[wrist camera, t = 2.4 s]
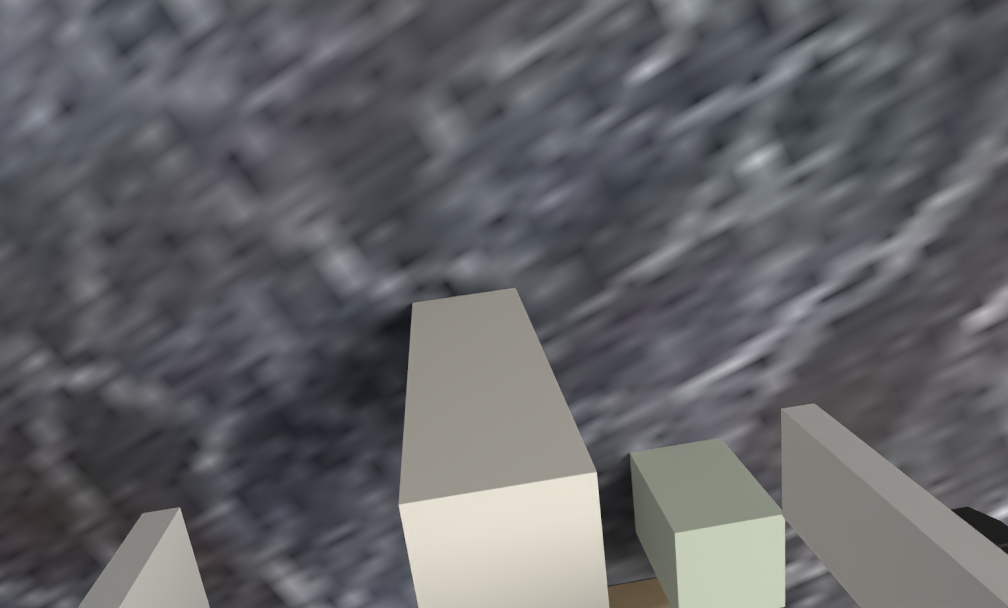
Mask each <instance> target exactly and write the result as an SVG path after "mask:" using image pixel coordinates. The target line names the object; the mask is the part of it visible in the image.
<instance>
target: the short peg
mask: <svg viewBox="0 0 1008 608" xmlns="http://www.w3.org/2000/svg"><path fill="white" fill-rule="evenodd" d="M630 463H631V476H632V489H633V503H634V516H635V529H636V534H637V536H638V538H639V540H640V542H641V544H642V547H643V549H644V551H645V553H646V555H647V557H648V559H649V561H650V563H651V566H652V568H653V570H654V572H655V574H656V576H657V578H658V580H659V583H660V585H661V587H662V589H663V591H664V593H665V595H666V597H667V599H668V602H669V604H670V606H671V608H780V607H785V518H784V517H783V516H782V510H781V509H780V508H779V506H778V505H777V504H776V503H775V502H774V500H773V499H772V498H771V497H770V496H769V495H768V493H767V492H766V491H765V490H764V489H763V487H762V486H761V485H760V484H759V483H758V482H757V480H756V479H755V478H754V477H753V476H752V474H751V473H750V472H749V471H748V470H747V469H746V467H745V466H744V465H743V464H742V463H741V461H740V460H739V459H738V458H737V457H736V455H735V454H734V453H733V452H732V451H731V450H730V448H729V447H728V446H727V445H726V444H725V442H724V441H723V440H722V439H721V438H717V439H711V440H704V441H698V442H692V443H686V444H680V445H674V446H668V447H662V448H656V449H650V450H644V451H638V452H632V453H630Z"/></svg>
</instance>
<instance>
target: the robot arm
mask: <svg viewBox="0 0 1008 608" xmlns="http://www.w3.org/2000/svg"><path fill="white" fill-rule="evenodd" d="M781 427H782V516H783V517H784V518H785V520H786V521H787V522H788V523H789V524H790V525H791V527H792V528H793V529H794V530H795V531H796V532H797V534H798V535H799V536H800V537H801V538H802V540H803V541H804V542H805V543H806V544H807V545H808V547H809V548H810V549H811V550H812V551H813V552H814V554H815V555H816V556H817V557H818V558H819V559H820V561H821V562H822V563H823V564H824V565H825V566H826V568H827V569H828V570H829V571H830V572H831V573H832V575H833V576H834V577H835V578H836V579H837V580H838V582H839V583H840V584H841V585H842V586H843V587H844V589H845V590H846V591H847V592H848V593H849V594H850V596H851V597H852V598H853V599H854V600H855V601H856V603H857V604H858V605H859V606H860V607H861V608H1008V526H1007V525H1005V524H1004V523H1003V522H1001V521H999V520H997V519H995V518H992V517H990V516H988V515H986V514H983V513H981V512H979V511H976V510H974V509H972V508H969V507H963V508H958V509H952V510H950V509H949V508H947V507H946V506H945V505H944V504H942V503H941V502H940V501H939V500H937V499H936V498H935V497H933V496H932V495H931V494H930V493H928V492H927V491H926V490H924V489H923V488H922V487H921V486H919V485H918V484H917V483H915V482H914V481H913V480H912V479H910V478H909V477H908V476H907V475H905V474H904V473H903V472H901V471H900V470H899V469H898V468H896V467H895V466H894V465H892V464H891V463H890V462H889V461H887V460H886V459H885V458H884V457H882V456H881V455H880V454H878V453H877V452H876V451H875V450H873V449H872V448H871V447H869V446H868V445H867V444H866V443H864V442H863V441H862V440H860V439H859V438H858V437H857V436H855V435H854V434H853V433H852V432H850V431H849V430H848V429H846V428H845V427H844V426H843V425H841V424H840V423H839V422H837V421H836V420H835V419H834V418H832V417H831V416H830V415H829V414H827V413H826V412H825V411H823V410H822V409H821V408H820V407H818V406H817V405H816V404H808V405H802V406H796V407H790V408H783V409H781ZM78 608H210V607H209V604H208V600H207V597H206V594H205V590H204V587H203V584H202V580H201V577H200V573H199V570H198V567H197V563H196V560H195V556H194V553H193V550H192V546H191V543H190V540H189V536H188V533H187V529H186V526H185V523H184V519H183V516H182V513H181V509H180V507H179V508H173V509H167V510H160V511H154V512H148V513H143V514H142V515H141V517H140V518H139V519H138V521H137V522H136V524H135V525H134V527H133V528H132V530H131V531H130V533H129V534H128V535H127V537H126V538H125V540H124V541H123V543H122V544H121V546H120V547H119V549H118V550H117V551H116V553H115V554H114V556H113V557H112V559H111V560H110V562H109V563H108V565H107V566H106V567H105V569H104V570H103V572H102V573H101V575H100V576H99V578H98V579H97V580H96V582H95V583H94V585H93V586H92V588H91V589H90V591H89V592H88V594H87V595H86V596H85V598H84V599H83V601H82V602H81V604H80V605H79V607H78Z"/></svg>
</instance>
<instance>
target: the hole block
mask: <svg viewBox="0 0 1008 608" xmlns="http://www.w3.org/2000/svg"><path fill="white" fill-rule="evenodd" d="M607 588H608V599H609V608H671V606H670V604H669V602H668V599H667V597H666V595H665V593H664V591H663V589H662V587H661V585H660V583H659V580H658V578H654V579H648V580H642V581H637V582H631V583H625V584H620V585H614V586H608V587H607Z"/></svg>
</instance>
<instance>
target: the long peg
mask: <svg viewBox="0 0 1008 608" xmlns="http://www.w3.org/2000/svg"><path fill="white" fill-rule="evenodd" d="M399 509H400V515H401V520H402V525H403V530H404V535H405V540H406V545H407V551H408V556H409V561H410V566H411V571H412V576H413V582H414V587H415V592H416V597H417V602H418V607H419V608H609V599H608V588H607V577H606V566H605V556H604V545H603V534H602V523H601V512H600V502H599V491H598V480H597V471H596V469H595V467H594V465H593V462H592V460H591V458H590V456H589V453H588V451H587V449H586V446H585V444H584V442H583V440H582V437H581V435H580V433H579V431H578V428H577V426H576V424H575V422H574V419H573V417H572V415H571V413H570V410H569V408H568V406H567V403H566V401H565V399H564V397H563V394H562V392H561V390H560V388H559V385H558V383H557V381H556V379H555V376H554V374H553V372H552V370H551V367H550V365H549V363H548V360H547V358H546V356H545V354H544V351H543V349H542V347H541V345H540V342H539V340H538V338H537V336H536V333H535V331H534V329H533V326H532V324H531V322H530V320H529V317H528V315H527V313H526V311H525V308H524V306H523V304H522V302H521V299H520V297H519V295H518V293H517V290H516V288H510V289H504V290H497V291H490V292H483V293H476V294H470V295H463V296H456V297H449V298H442V299H436V300H429V301H422V302H415V303H413V304H412V318H411V332H410V347H409V361H408V376H407V390H406V405H405V419H404V434H403V448H402V462H401V477H400V491H399Z"/></svg>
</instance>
